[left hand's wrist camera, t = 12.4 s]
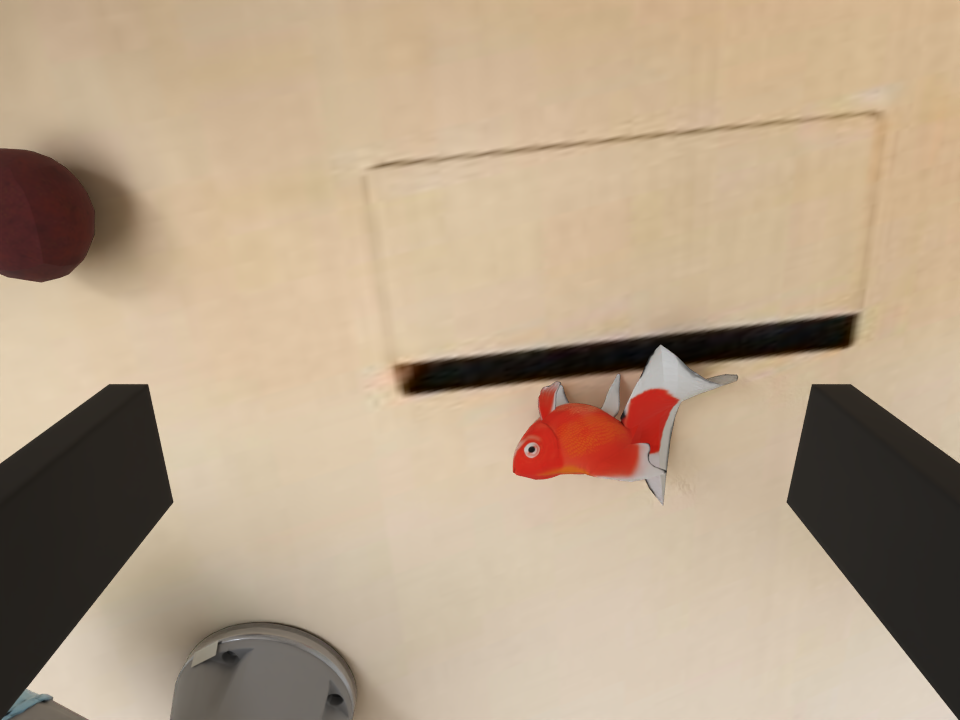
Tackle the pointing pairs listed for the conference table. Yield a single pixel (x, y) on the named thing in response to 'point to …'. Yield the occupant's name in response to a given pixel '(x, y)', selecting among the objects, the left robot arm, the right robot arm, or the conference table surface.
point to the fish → (613, 427)
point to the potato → (41, 217)
